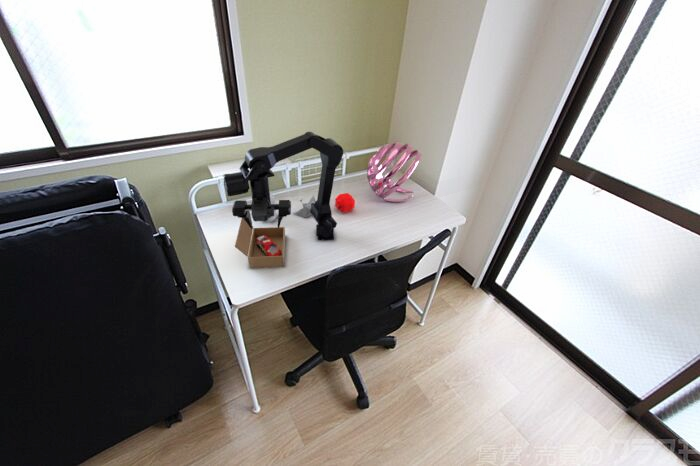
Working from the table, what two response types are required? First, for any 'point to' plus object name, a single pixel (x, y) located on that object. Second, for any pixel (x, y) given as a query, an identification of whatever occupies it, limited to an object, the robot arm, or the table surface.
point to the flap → (244, 237)
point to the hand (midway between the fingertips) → (265, 227)
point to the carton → (257, 256)
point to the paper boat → (306, 208)
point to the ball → (345, 202)
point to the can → (274, 210)
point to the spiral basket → (386, 180)
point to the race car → (268, 246)
